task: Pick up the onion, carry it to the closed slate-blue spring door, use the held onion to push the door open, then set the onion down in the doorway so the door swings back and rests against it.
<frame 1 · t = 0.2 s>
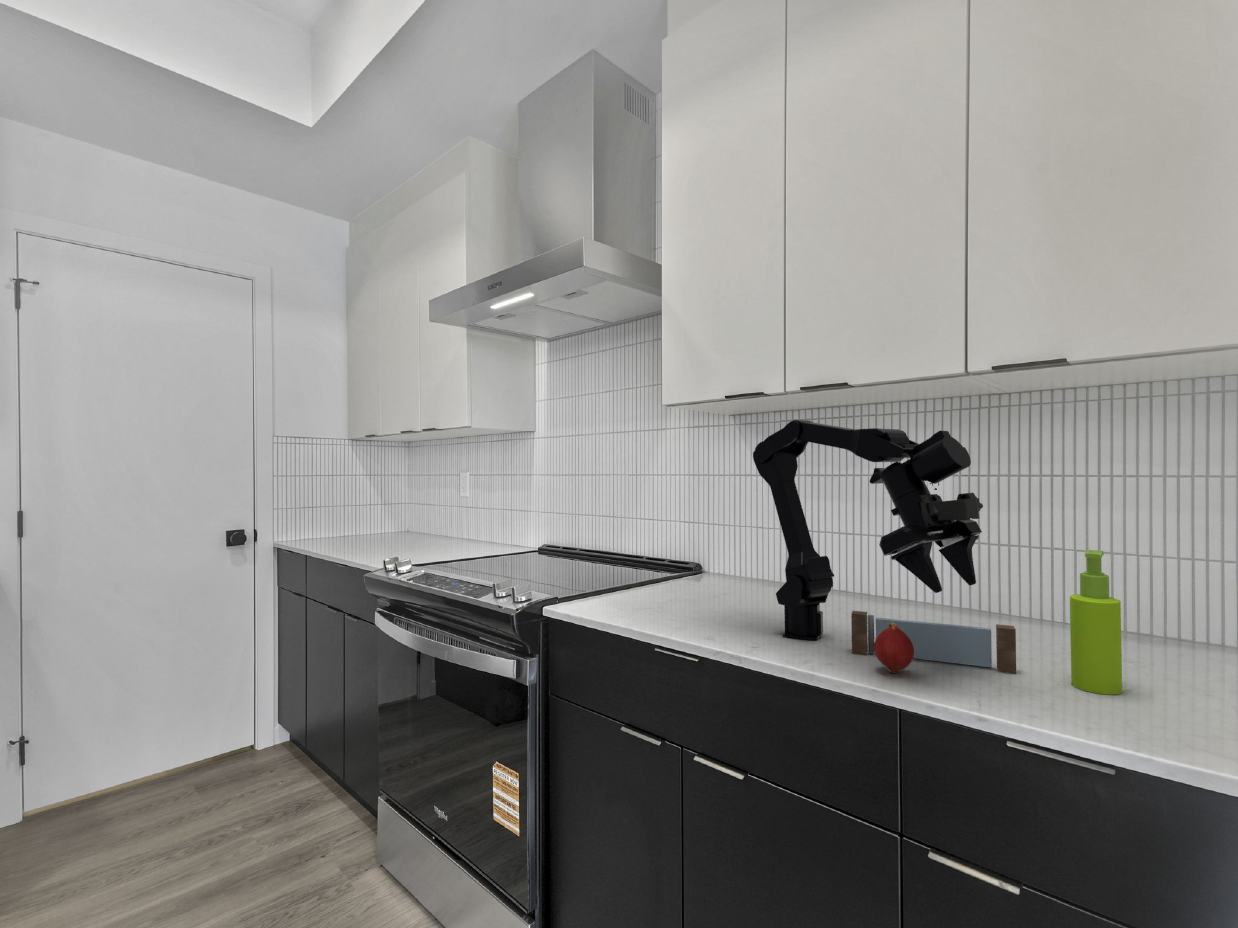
hand: (956, 588, 92), 14 cm above the worktop, tool tilted 25°, fingers open, 9 cm apart
door frame: (871, 653, 106), on the worktop
soap dispenser: (1096, 687, 89), on the worktop
onion: (894, 673, 96), on the worktop
door: (927, 639, 102), point 4 cm above the worktop, hinge at 0.0°
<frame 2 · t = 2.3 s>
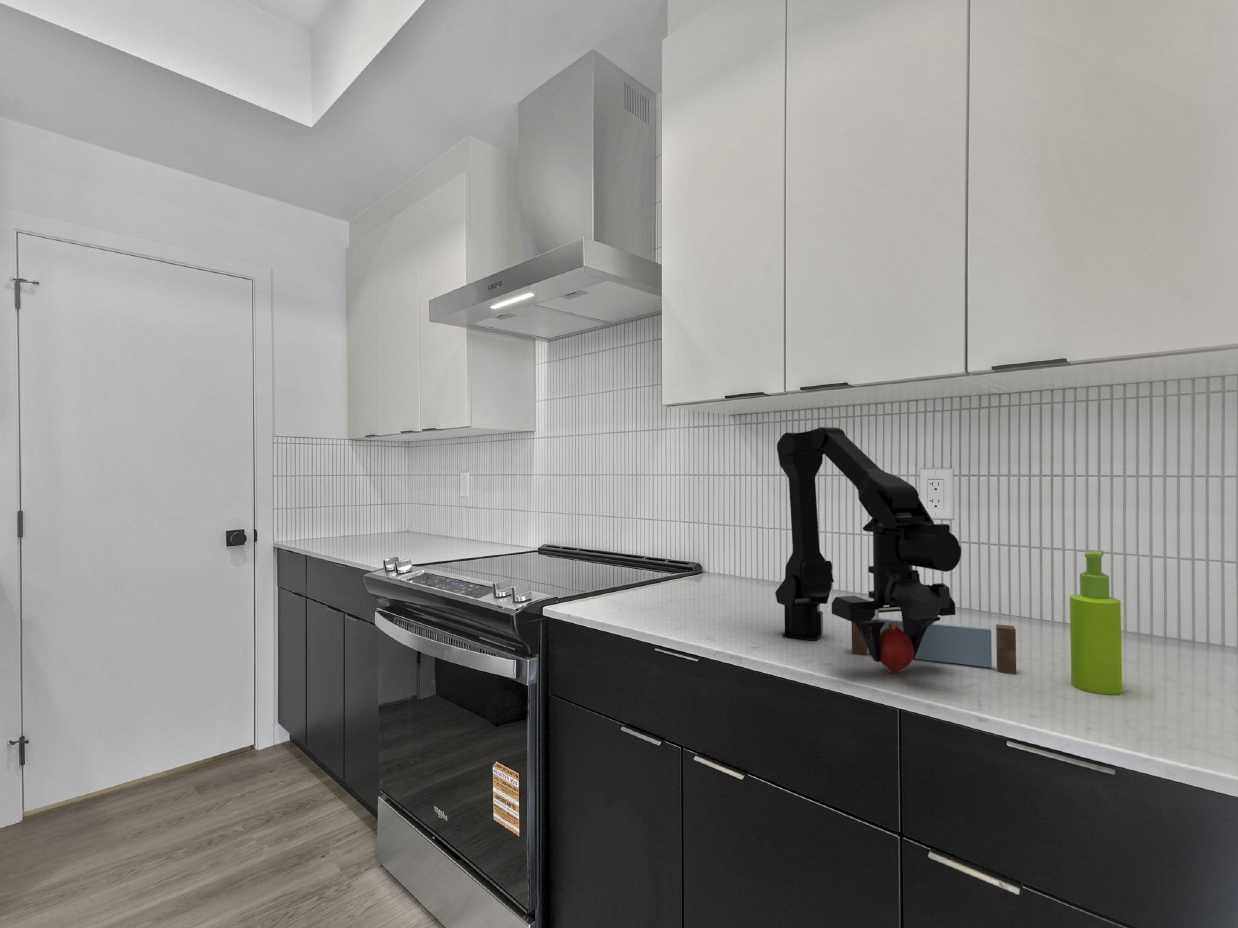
hand: (893, 659, 96), 2 cm above the worktop, tool pointing down, fingers closed on onion, 6 cm apart
onion: (894, 673, 96), on the worktop, touching gripper
everything else where it was.
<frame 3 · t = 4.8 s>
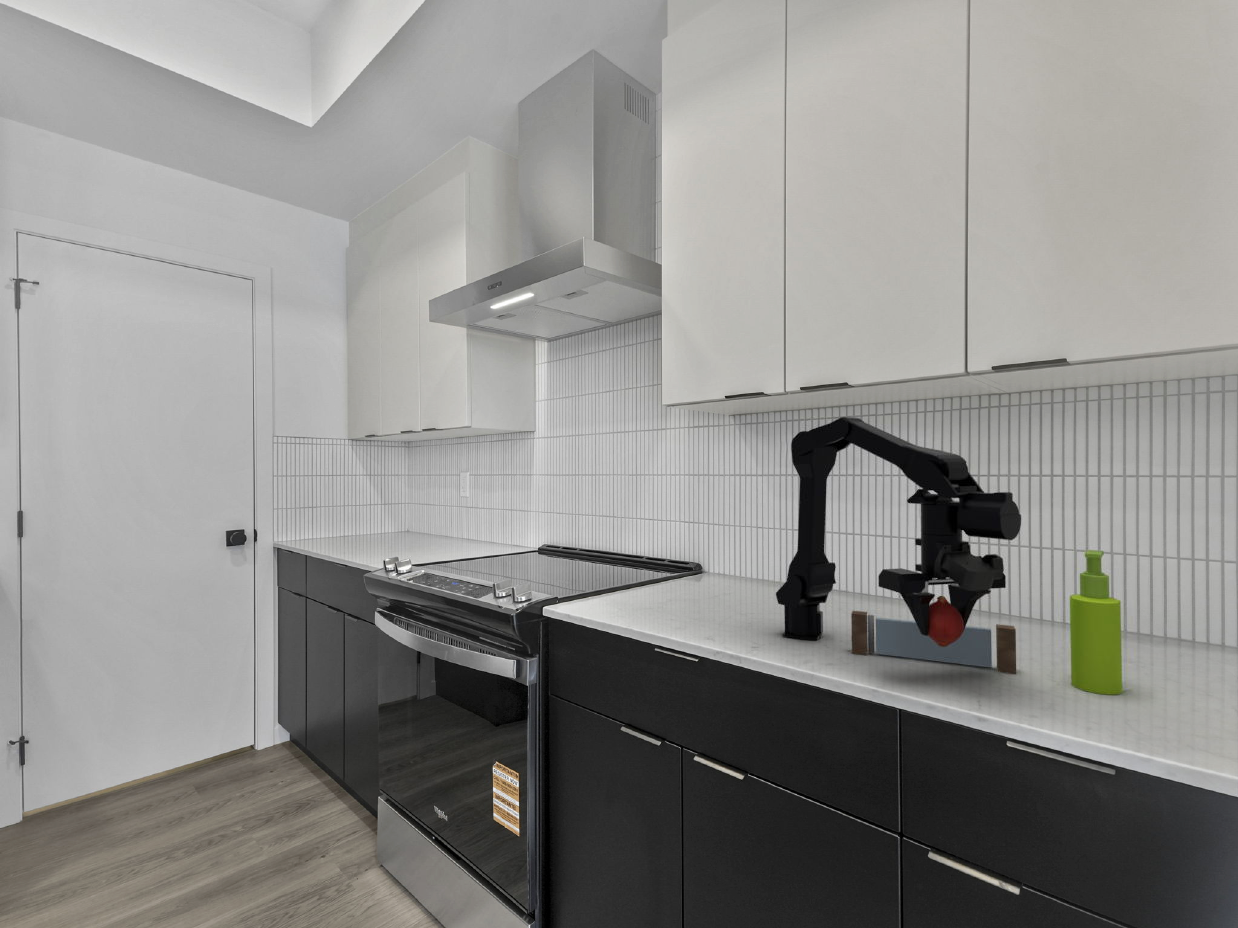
hand: (942, 633, 94), 7 cm above the worktop, tool pointing down, fingers closed on onion, 6 cm apart
onion: (942, 648, 94), point 4 cm above the worktop, touching gripper
everything else where it was.
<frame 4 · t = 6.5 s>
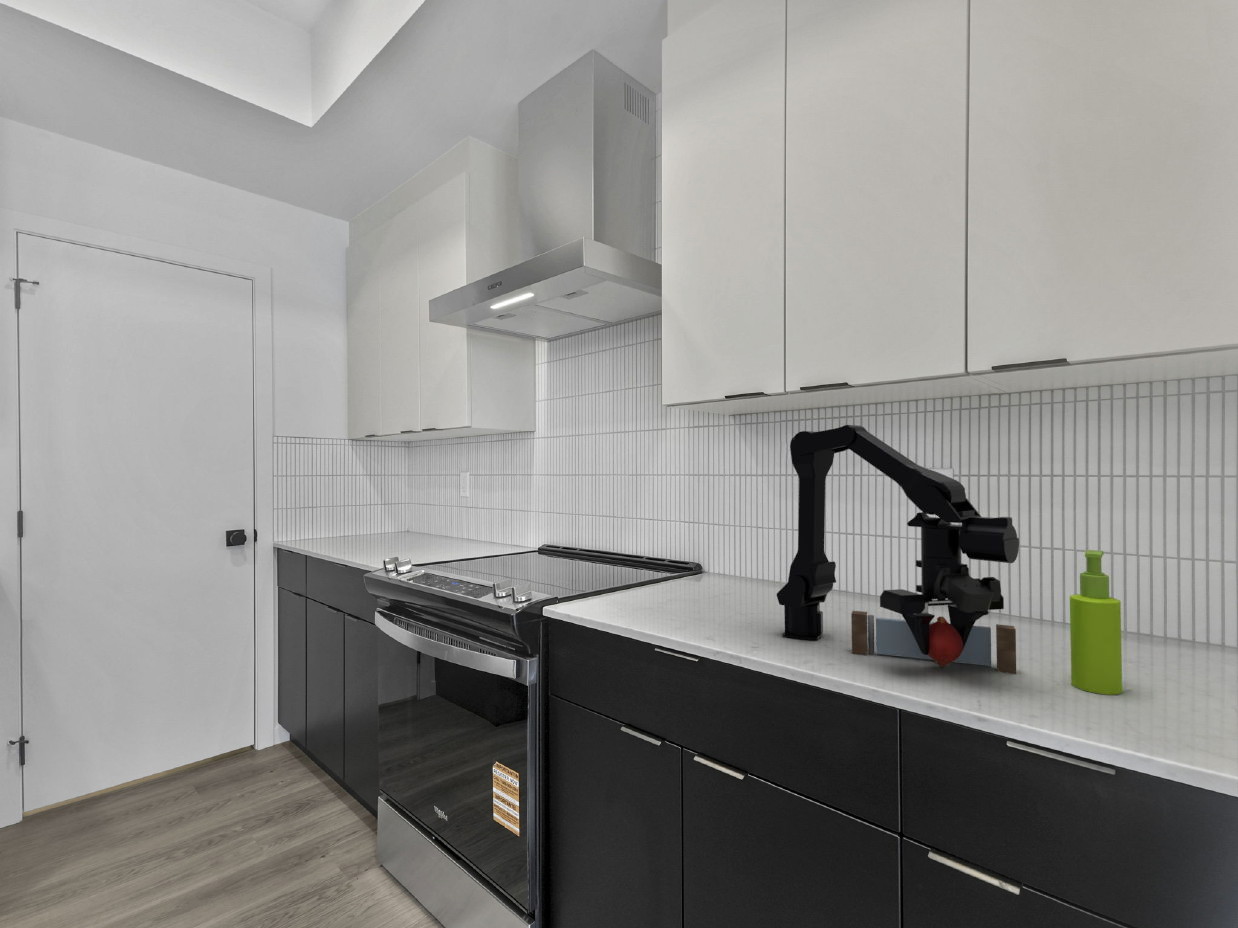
hand: (941, 653, 97), 3 cm above the worktop, tool pointing down, fingers closed on onion, 6 cm apart
onion: (942, 667, 97), on the worktop, touching gripper
door: (927, 638, 102), point 4 cm above the worktop, hinge at 2.6°, touching gripper
everything else where it was.
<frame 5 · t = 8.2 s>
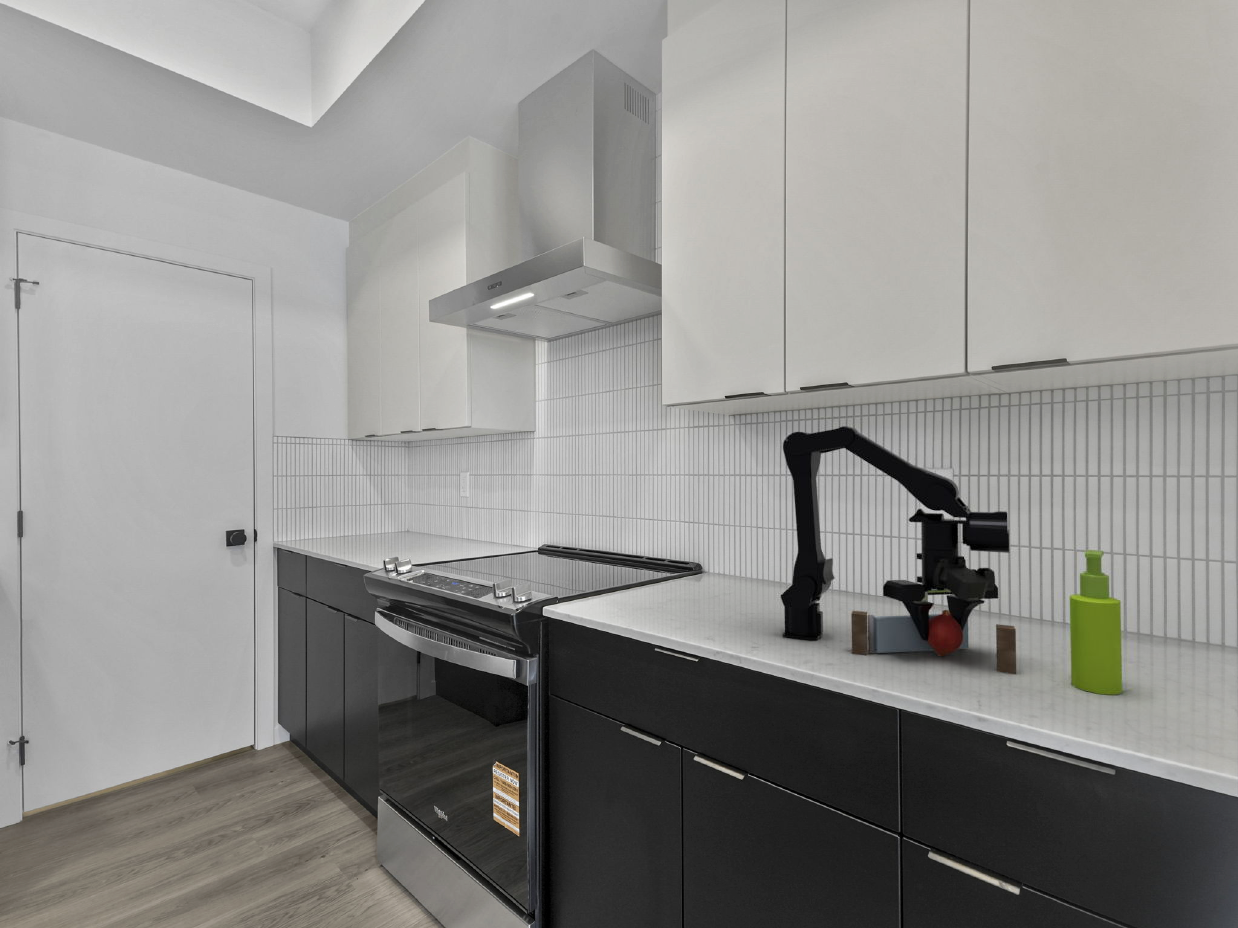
hand: (940, 639, 104), 3 cm above the worktop, tool pointing down, fingers closed on onion, 6 cm apart
onion: (940, 656, 103), on the worktop, touching gripper
door: (917, 631, 107), point 4 cm above the worktop, hinge at 33.5°, touching gripper
everything else where it was.
when the fingers open (3 cm above the worktop, at t = 9.7 s): onion stays where it is, on the worktop.
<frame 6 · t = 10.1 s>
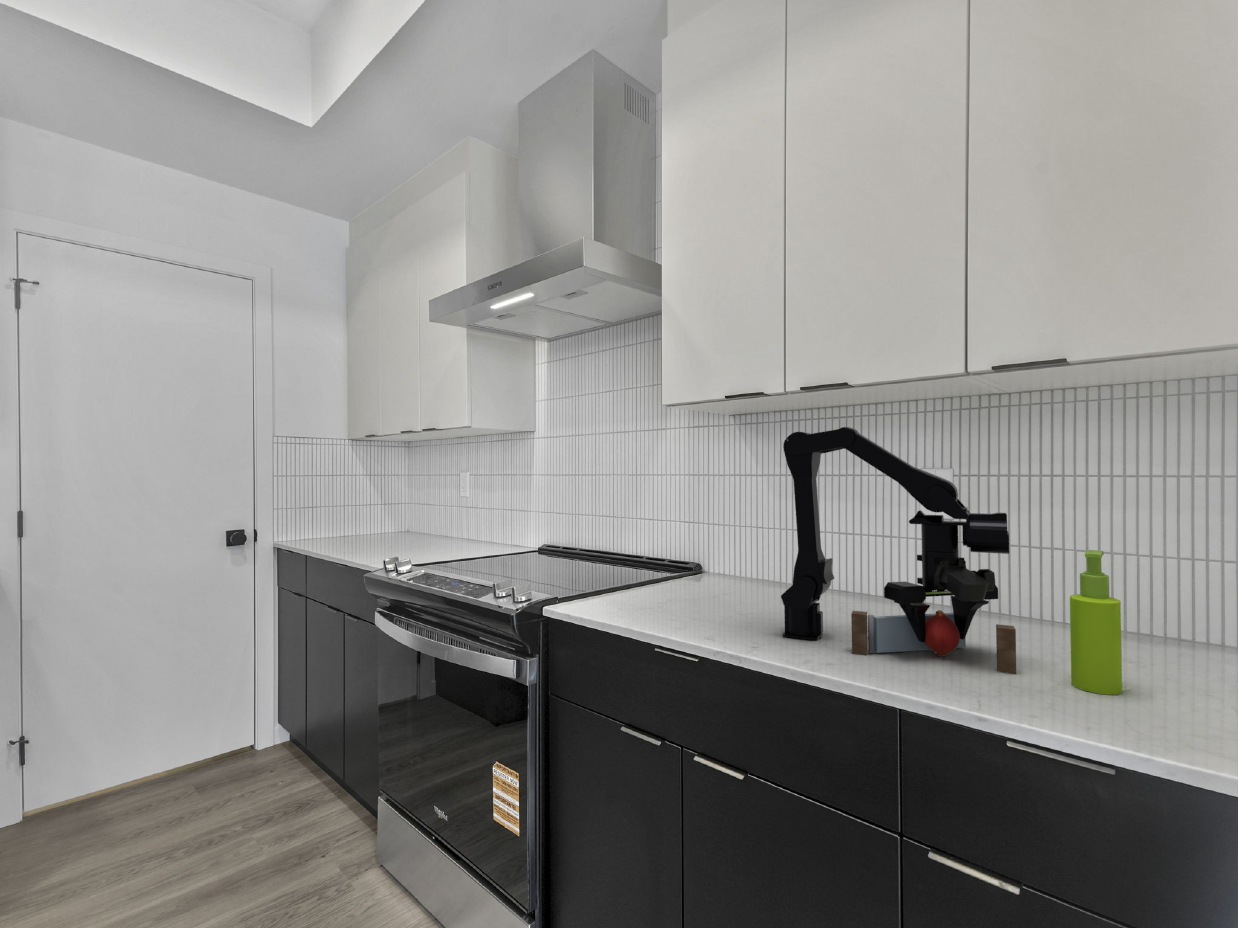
hand: (941, 640, 105), 2 cm above the worktop, tool pointing down, fingers open, 8 cm apart
onion: (940, 657, 104), on the worktop
door: (916, 631, 107), point 4 cm above the worktop, hinge at 35.9°, touching gripper
everything else where it was.
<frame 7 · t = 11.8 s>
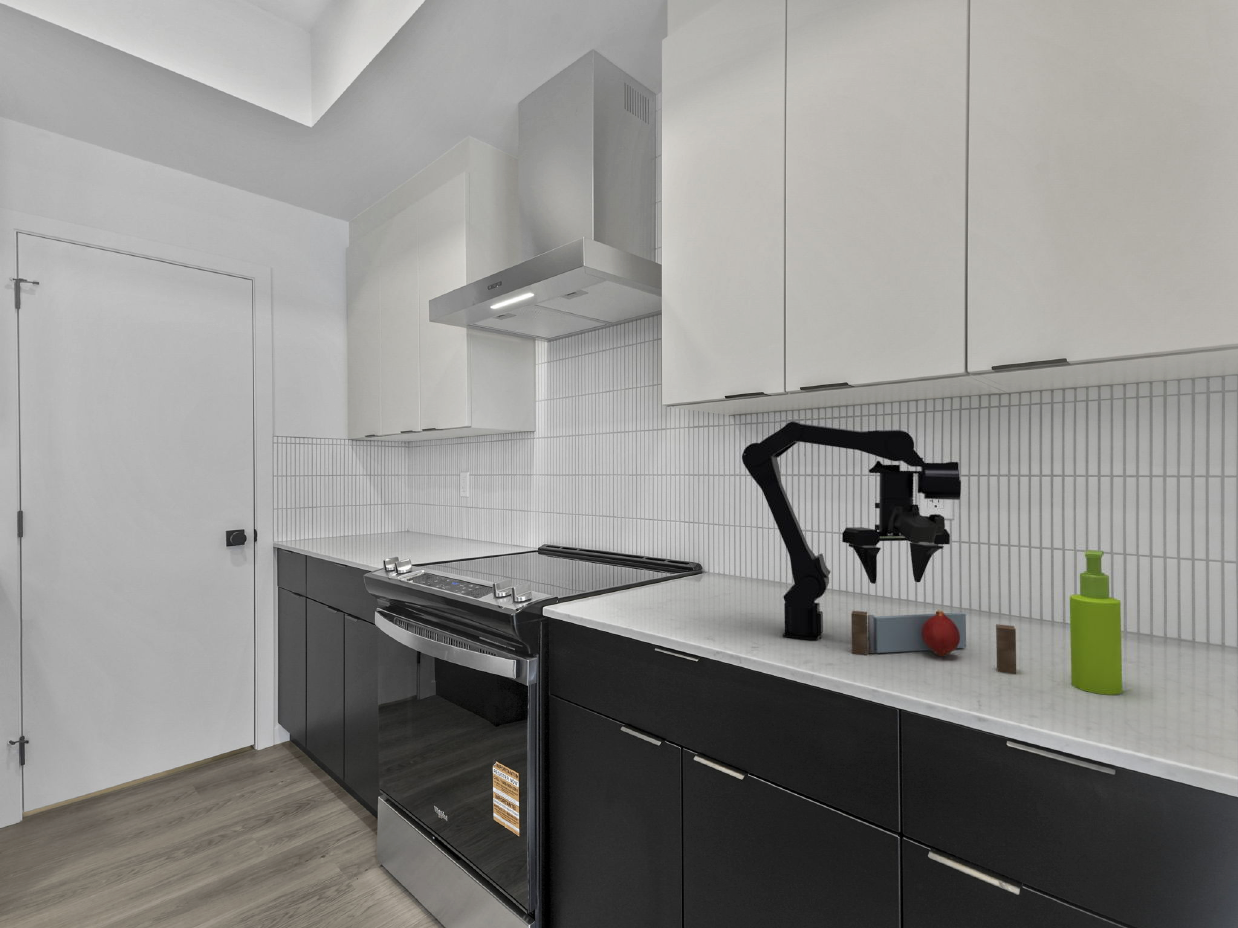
hand: (895, 582, 111), 11 cm above the worktop, tool pointing down, fingers open, 9 cm apart
onion: (941, 657, 104), on the worktop, touching door
door: (916, 631, 107), point 4 cm above the worktop, hinge at 35.4°, touching onion
everything else where it was.
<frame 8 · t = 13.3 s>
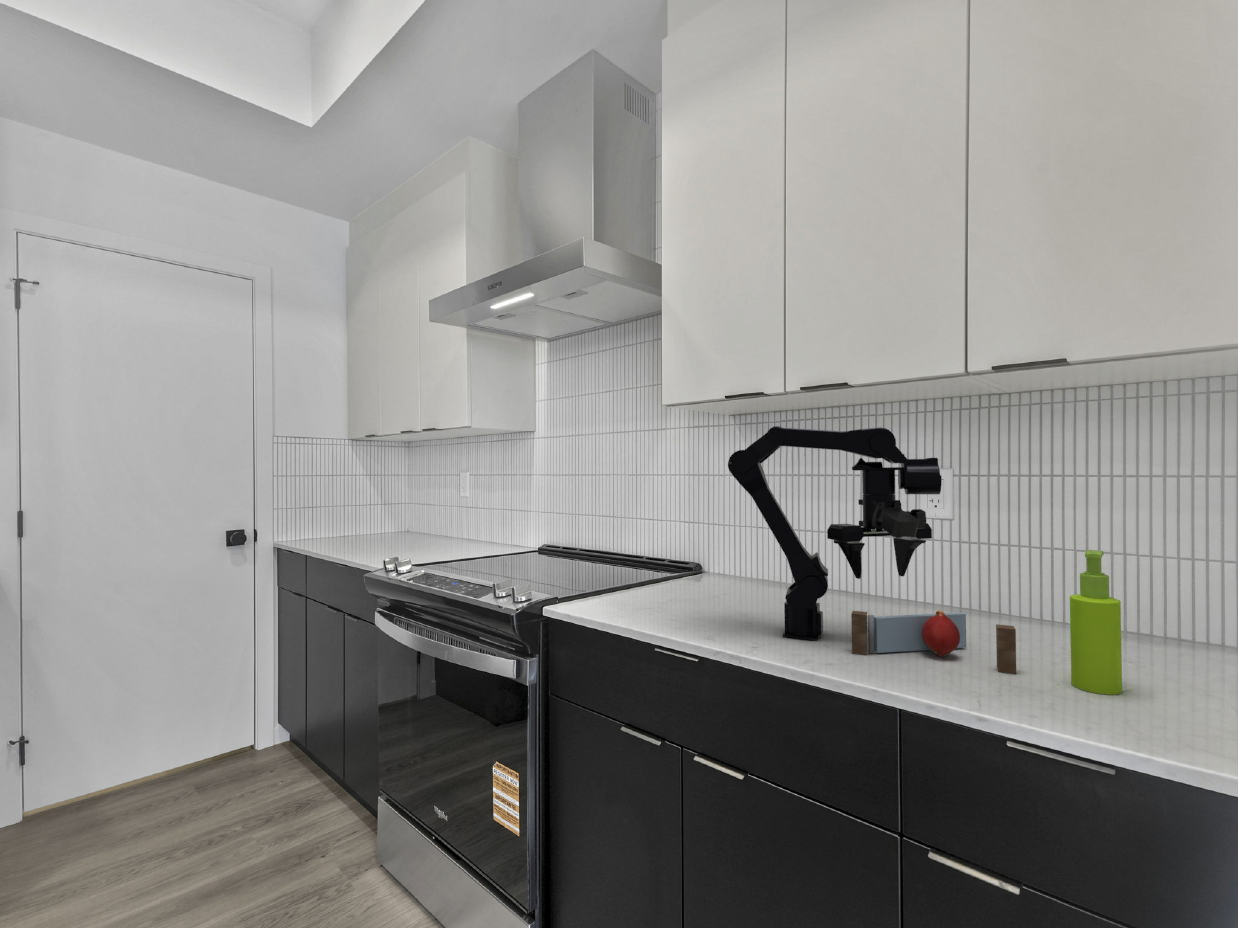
hand: (880, 577, 113), 12 cm above the worktop, tool pointing down, fingers open, 9 cm apart
nothing on the worktop moved.
at the end: door at +35° (first picture: +0°); onion touching door, worktop; the gripper is holding nothing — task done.
